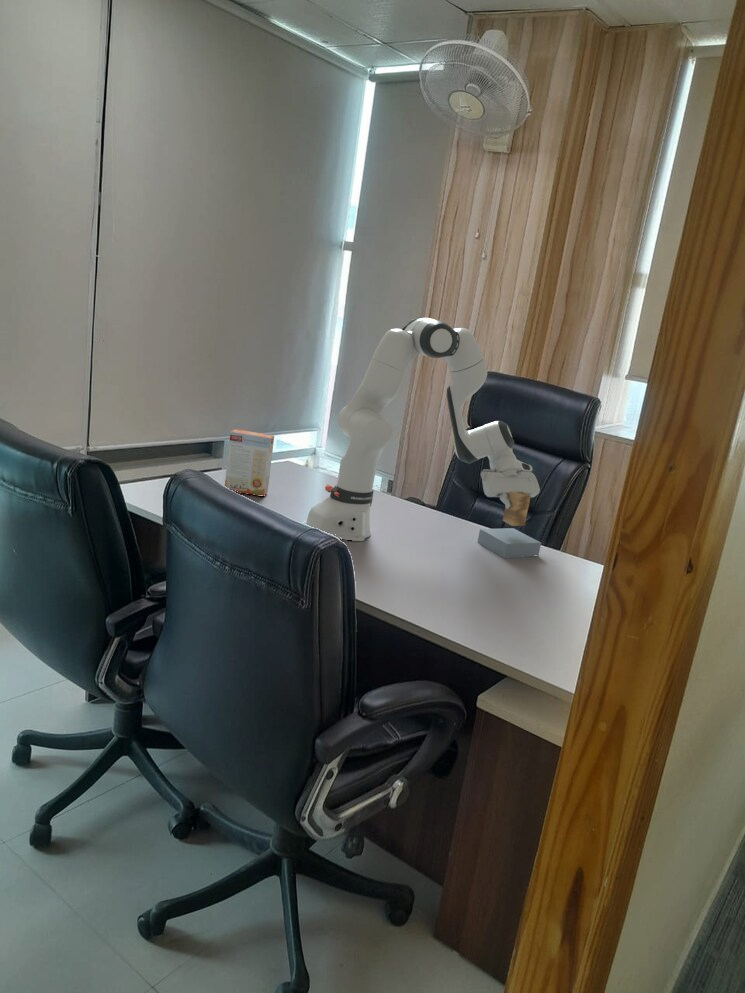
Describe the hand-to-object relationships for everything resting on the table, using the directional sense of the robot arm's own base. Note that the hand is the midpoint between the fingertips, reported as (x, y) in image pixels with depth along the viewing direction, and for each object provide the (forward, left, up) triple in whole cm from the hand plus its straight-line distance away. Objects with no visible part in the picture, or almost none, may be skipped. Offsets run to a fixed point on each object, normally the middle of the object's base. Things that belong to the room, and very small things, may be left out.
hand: (517, 508), depth 249 cm
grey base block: (0, +1, -15) cm, 15 cm away
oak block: (0, +1, -5) cm, 5 cm away
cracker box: (-69, +59, -14) cm, 92 cm away
